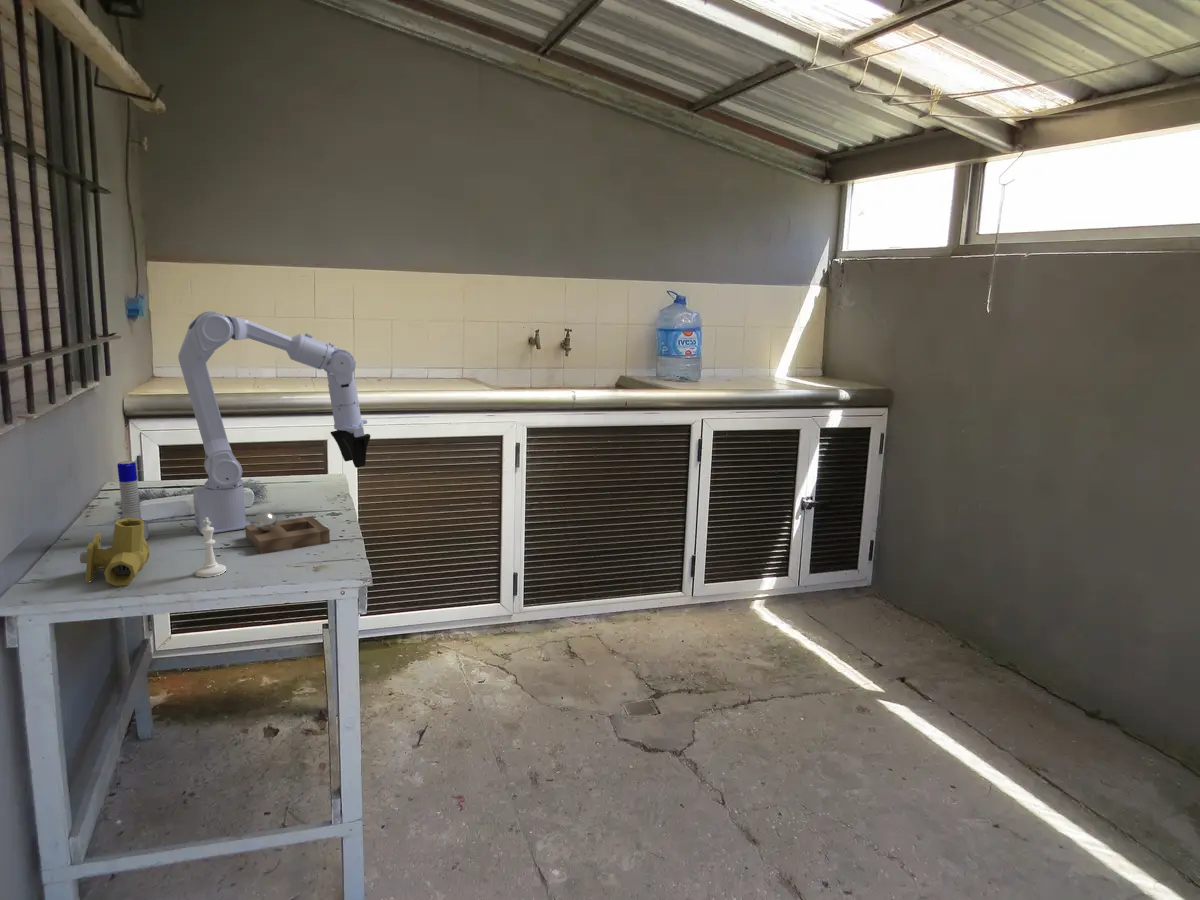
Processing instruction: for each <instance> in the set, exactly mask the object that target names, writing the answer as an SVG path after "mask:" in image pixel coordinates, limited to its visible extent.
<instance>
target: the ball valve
mask: <svg viewBox="0 0 1200 900" xmlns="http://www.w3.org/2000/svg"><path fill="white" fill-rule="evenodd" d="M144 522H145V521H144V520H143V519H141V520H140V519H134V518H125V519H123V518H119V519H116V521H115V523H114V527H113V528H114V530H113V538H112V546H111V547H107V548H101V543H102V542H101V540H102V539H101V537H102V534H101V533H95V535H94V536H93V539H92V542H88V545H87V547H86V551H83V552H80V554H79V562H80V564H86V570H85V571H86V574H85V583H86V582H89V581H91V580H92V579H94V576H95V573H98V571H99V569H100V568H103V569H104V570H103V574H104V577H105V581H106V583H107V584H108V583H109V584H110V585H113V586H114V587H116V586H118V585H124V586H129V585H130V583H131V582H132V581H133V579H135V578H136V575H137V574H138V573H139V572H140V571H141V570H143V568H144V565H145V564H146V563H147V562H148V560H149V558H150V555H151V549H150V546H149V544H148V542H147V540H145V539H144V538H143V537H144ZM92 581H93V580H92ZM92 581H91V582H92ZM89 583H90V582H89ZM127 584H128V585H127Z"/></svg>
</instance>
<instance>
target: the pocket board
mask: <svg viewBox="0 0 1200 900" xmlns="http://www.w3.org/2000/svg"><path fill="white" fill-rule="evenodd" d="M244 531H245V539H248V540H249V541H250V542H251V543H252V544H251V543H250V542H249V541H248V540H247V541H248V542H249V543H250V544H251V545H252V547H253V548H254V549H255V548H256V549H257V550H258V551H257V550H256V549H255V550H256V551H257V553H259V554H260V555H262V554H261V553H263V554H268V553H269V554H270V553H274V552H281V551H285V550H286V551H287V550H292V549H298V548H306V547H310V546H311V547H312V546H317V545H322V544H323V545H324V544H330V543H331V540H330V539H331V537H330V530H329V529H328V528H327V527H325V525H323V524H322V523H321V522H320V521H318V520H317V519H316V518H314V517H313V516H312V515H311V516H309V515H308V516H304V517H297V518H296V517H295V518H291V519H290V518H288V519H282V520H276V524H275V526H274V528H273V529H271V530H270V531H266V532H263V531H259V530H258V529H257V528H256V527H255V525H254V523H253V524H251V525H247V526H245V529H244Z"/></svg>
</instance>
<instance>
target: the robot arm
mask: <svg viewBox="0 0 1200 900" xmlns="http://www.w3.org/2000/svg"><path fill="white" fill-rule="evenodd" d="M313 336H314V335H313V334H310V333H305V334H302V333H299V334H296V335H294V336H289V335H287V334H284V333H281V332H279V331H276V330H273V329H272V328H269V327H267V326H264V325H262V324H259V323H256V322H254V321H251V320H249V319H246V318H241V317H237V316H231V315H226V314H222V313H219V312H215V311H204V312H202V313H200V314H198V315H197V317H195V318H194V320H193V321H192V322H191V323H190V324H189V326H188V328H187V331H186V334H185V336H184V339H183V341H182V344H181V347H180V349H179V352H178V356H177V357H178V362H179V365H180V368H181V372H182V375H183V378H184V383H185V386H186V389H187V392H188V396H189V399H190V402H191V407H192V411H193V413H194V417H195V420H196V423H197V427H198V430H199V433H200V436H201V437H200V438H201V440H202V444H203V449H204V453H205V454H204V455H205V458H204V463H203V466H204V467H203V468H204V470H205V472H206V474H207V476H208V479H207V480H206V481H205V482H204V486H203V487H199V488H194V489H193V493H192V494H193V507H194V521H195V522H194V523H195V527H196V528H197V529H198V531H199V533H200V534H201V535H203V533H202V531H201V529H202V528H204V527H206V526H205V524H204V523H203V521H204V520H205V518H206V517H208V518H209V521H210V522H211V524H210V525H209V527H213V528H214V531H213V534H217V533H222V532H230V531H231V532H232V531H237V530H245V526H247V525H252V524H251V523H250V522H249V521H248V520H247V517H246V516H247V514H246V504H245V502H246V501H245V490H244V481H243V479H242V476H243V468H242V466H241V463H240V462H239V461H238V460H237V458H236V456H235V455H234V454H233V450H232V448H231V445H230V442H229V439H228V435H227V433H226V432H227V431H226V429H225V426H224V422H223V419H222V415H221V412H220V409H219V404H218V402H217V401H218V400H217V397H216V395H215V391H214V388H213V387H214V386H213V383H212V380H211V378H210V373H209V369H208V365H207V362H208V361H209V360H210V358H211V357H212V355H213V354H214V353H215V351H216V350H218V349H219V348H220V347H222V346H224V345H225V344H227V343H228V342H229V341H230V340H231V339H232V340H234V341H241V340H247V339H249V340H253V341H256V342H259V343H262V344H264V345H267V346H271V347H274V348H277V349H280V350H283V351H286V353H287V355H288V356H289V358H290V360H291V361H295V362H298V363H300V364H303V365H305V366H307V367H312V368H314V369H316V370H323V371H325V372H326V376H327V382H328V384H327V385H328V392H329V399H330V405H331V409H332V410H331V411H332V415H333V422H334V423H333V428H334V430H331V431H330V435H331V436H332V438H333V439H334V441H335V442H336V444H337V446H338V448H339V451H340V454H341V456H342V459H343V461H344V462H351V461H352V463H353V466H354V468H356V469H357V468H362V467H366V461H367V451H368V446H369V443H370V440H371V434H369V433H365V430H364V425H365V424H368V420H367V419H362V415H361V408H360V401H359V397H358V396H359V395H358V389H357V383H356V380H355V374H354V371H355V370H356V367H357V362H356V360H355V358H354V356H353V355H352V354H351V353H350V351H347V350H345V349H341V348H339V347H337V346H335V344H334V343H332V342H329V343H325V342H323V341H322V340H321V341H320V340H317V339H314V337H313Z"/></svg>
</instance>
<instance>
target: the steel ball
mask: <svg viewBox="0 0 1200 900" xmlns="http://www.w3.org/2000/svg"><path fill="white" fill-rule="evenodd" d="M276 521H277V518H276V516H275V514H273V512H270V511H268V510H262V511H260V512H258V513H256V515H255V516H254V518H253V524H254V525H255V527H256V528H257V529H258V530H259V531H263V532H266V531H270V530H271V529H273V528H274V526H275V524H276Z"/></svg>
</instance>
